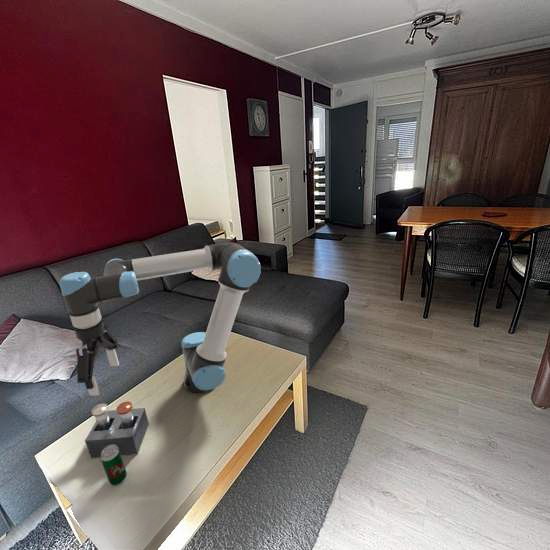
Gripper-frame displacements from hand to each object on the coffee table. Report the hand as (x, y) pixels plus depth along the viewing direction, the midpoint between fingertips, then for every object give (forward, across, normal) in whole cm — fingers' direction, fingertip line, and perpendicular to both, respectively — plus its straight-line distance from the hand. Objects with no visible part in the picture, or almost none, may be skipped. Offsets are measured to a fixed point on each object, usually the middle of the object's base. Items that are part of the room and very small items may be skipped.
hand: (105, 379), depth 99 cm
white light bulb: (+18, +3, -3) cm, 18 cm away
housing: (+25, +2, +1) cm, 25 cm away
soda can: (+25, +16, +5) cm, 30 cm away
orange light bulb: (+18, +2, +5) cm, 19 cm away
